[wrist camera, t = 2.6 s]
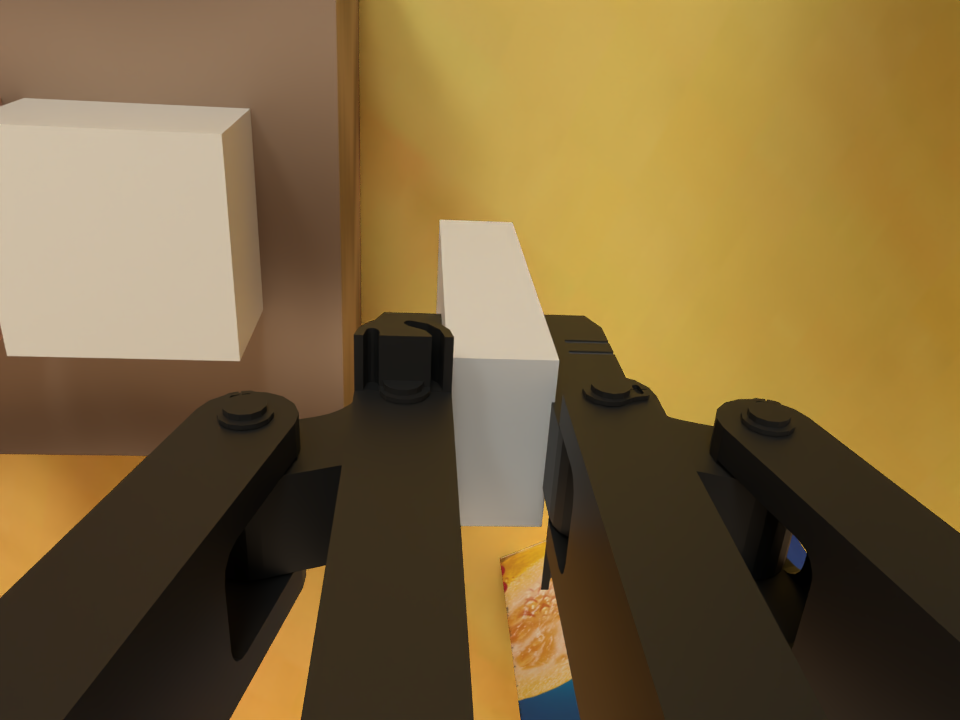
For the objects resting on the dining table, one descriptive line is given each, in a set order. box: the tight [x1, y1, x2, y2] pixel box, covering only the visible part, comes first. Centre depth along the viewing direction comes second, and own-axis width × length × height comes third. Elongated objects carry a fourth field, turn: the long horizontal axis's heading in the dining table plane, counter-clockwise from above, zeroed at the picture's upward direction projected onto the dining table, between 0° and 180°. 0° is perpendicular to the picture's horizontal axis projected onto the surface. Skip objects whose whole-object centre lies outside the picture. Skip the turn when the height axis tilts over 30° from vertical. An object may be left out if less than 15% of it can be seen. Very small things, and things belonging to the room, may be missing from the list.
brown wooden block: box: [0, 0, 361, 456], centre depth 23 cm, size 14×13×7 cm
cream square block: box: [0, 98, 263, 361], centre depth 18 cm, size 5×5×3 cm
